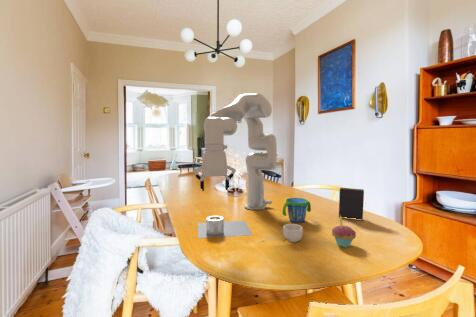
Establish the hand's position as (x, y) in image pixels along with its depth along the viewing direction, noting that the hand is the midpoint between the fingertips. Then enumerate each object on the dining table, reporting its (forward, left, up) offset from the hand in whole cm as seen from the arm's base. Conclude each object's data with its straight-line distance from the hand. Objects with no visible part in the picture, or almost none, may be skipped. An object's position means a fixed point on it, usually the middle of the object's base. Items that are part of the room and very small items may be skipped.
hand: (214, 190), depth 108 cm
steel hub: (0, 0, -18) cm, 18 cm away
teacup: (-31, +8, -20) cm, 37 cm away
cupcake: (-48, +16, -20) cm, 54 cm away
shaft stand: (-4, -4, -19) cm, 20 cm away
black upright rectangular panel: (-69, -13, -20) cm, 73 cm away
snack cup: (-41, -14, -20) cm, 47 cm away
